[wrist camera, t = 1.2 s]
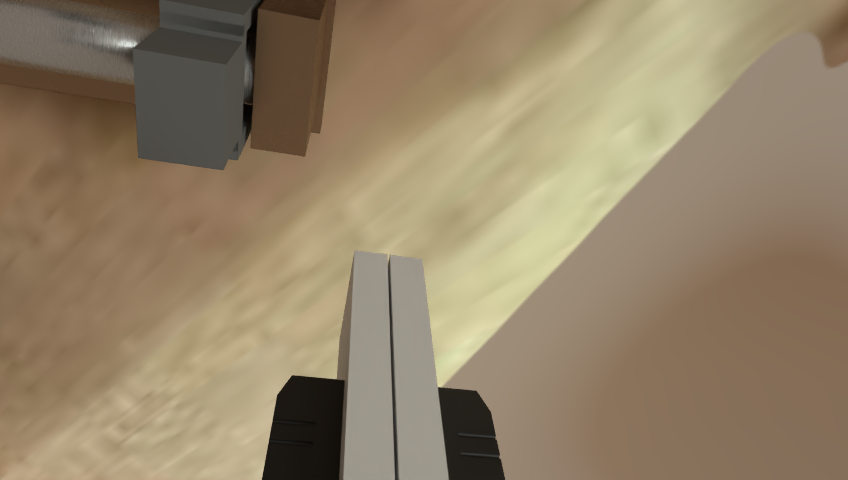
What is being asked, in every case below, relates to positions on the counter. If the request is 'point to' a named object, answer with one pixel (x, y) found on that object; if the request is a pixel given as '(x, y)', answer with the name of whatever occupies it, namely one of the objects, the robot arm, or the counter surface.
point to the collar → (194, 83)
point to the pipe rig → (137, 19)
